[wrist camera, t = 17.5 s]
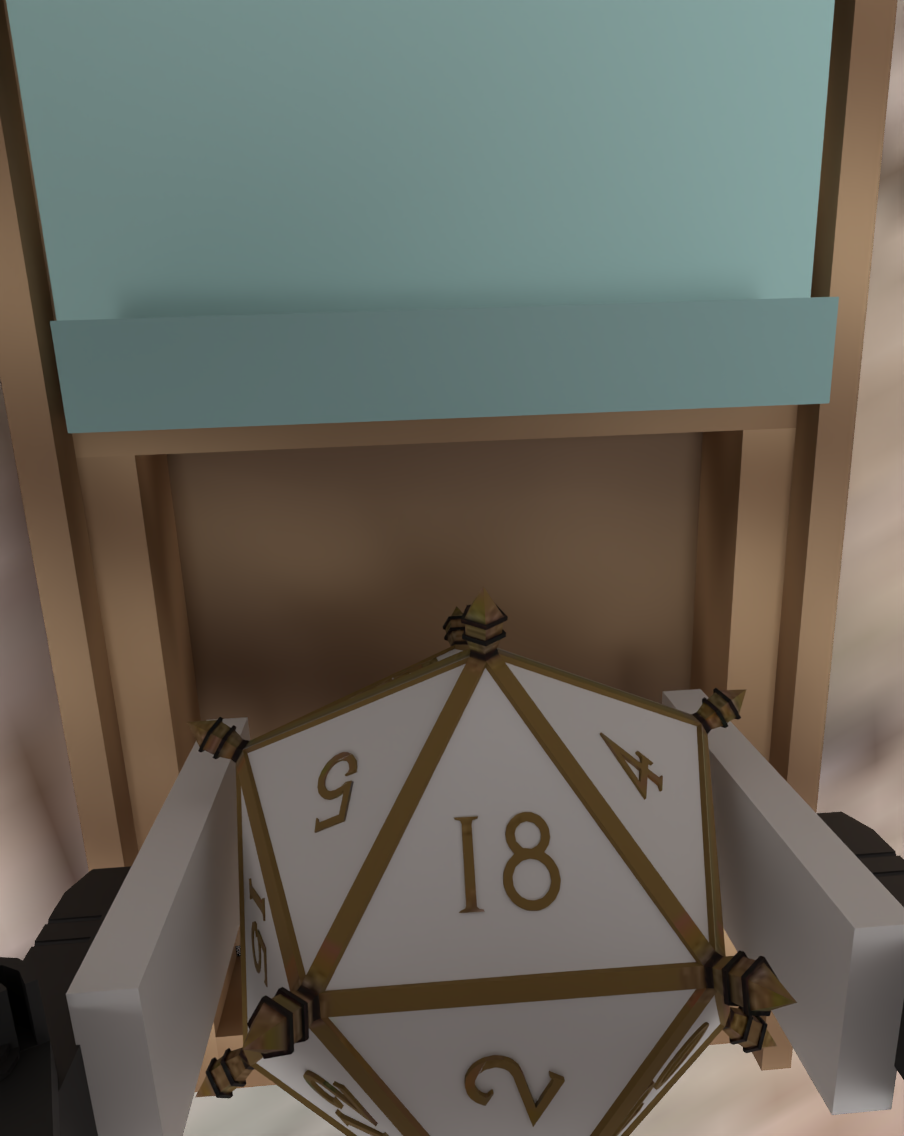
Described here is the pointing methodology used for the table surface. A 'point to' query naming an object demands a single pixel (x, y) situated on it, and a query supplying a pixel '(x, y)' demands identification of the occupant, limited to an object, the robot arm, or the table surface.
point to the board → (435, 532)
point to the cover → (427, 206)
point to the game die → (483, 900)
